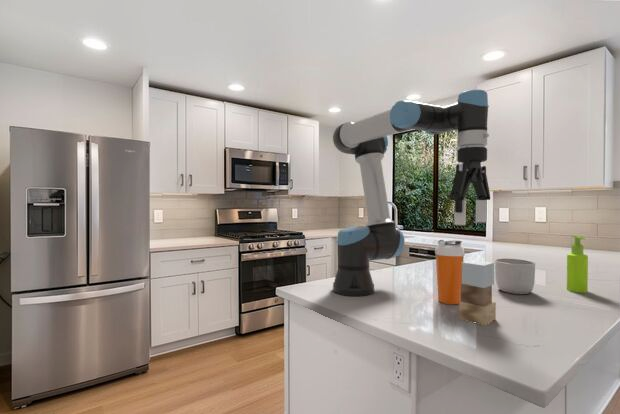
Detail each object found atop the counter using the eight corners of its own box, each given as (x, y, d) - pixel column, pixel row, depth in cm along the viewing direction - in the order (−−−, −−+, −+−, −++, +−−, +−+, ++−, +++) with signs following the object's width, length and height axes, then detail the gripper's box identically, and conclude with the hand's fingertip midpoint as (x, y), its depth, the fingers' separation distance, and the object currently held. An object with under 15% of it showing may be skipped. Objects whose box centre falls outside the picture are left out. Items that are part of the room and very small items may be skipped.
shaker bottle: (467, 306, 104) (467, 242, 103) (437, 305, 105) (437, 242, 105) (460, 298, 112) (460, 239, 112) (432, 297, 114) (432, 238, 114)
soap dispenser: (570, 292, 118) (571, 236, 118) (564, 287, 124) (564, 234, 124) (591, 294, 116) (592, 237, 115) (583, 289, 122) (584, 235, 122)
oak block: (459, 319, 93) (459, 301, 93) (469, 313, 98) (469, 296, 98) (485, 326, 88) (485, 307, 88) (495, 319, 93) (495, 301, 93)
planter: (512, 285, 128) (512, 257, 128) (543, 294, 116) (543, 263, 116) (487, 288, 124) (487, 259, 124) (517, 297, 113) (517, 265, 112)
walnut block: (460, 301, 93) (460, 283, 93) (469, 297, 97) (469, 280, 97) (483, 306, 89) (483, 287, 88) (491, 301, 93) (491, 283, 93)
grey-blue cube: (461, 283, 93) (462, 262, 93) (472, 280, 97) (472, 259, 97) (484, 288, 88) (484, 265, 88) (493, 284, 92) (494, 262, 92)
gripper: (465, 141, 82) (464, 227, 83) (503, 150, 98) (501, 221, 99) (437, 144, 88) (436, 225, 88) (476, 152, 104) (475, 220, 105)
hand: (470, 223), depth 94 cm, fingers open, 13 cm apart
